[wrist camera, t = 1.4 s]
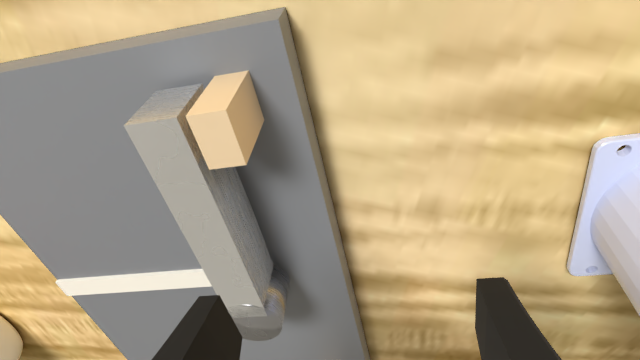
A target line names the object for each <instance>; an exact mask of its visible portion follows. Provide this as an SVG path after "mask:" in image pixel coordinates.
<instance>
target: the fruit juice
mask: <svg viewBox="0 0 640 360" xmlns="http://www.w3.org/2000/svg"><path fill="white" fill-rule="evenodd" d="M22 350H23V342H22V339H21V337H20V335H19V333H18V332H17V330H16V329H15V328H14V327H13V326H12V325H11V324H10V323H9V322H8V321H7V320H5V319H4V318H3V317H2V316H0V360H19V358H20V356H21V353H22Z"/></svg>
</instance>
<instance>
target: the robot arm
mask: <svg viewBox="0 0 640 360" xmlns="http://www.w3.org/2000/svg"><path fill="white" fill-rule="evenodd" d="M624 145H626V146H625V148H623V149H622V150H619V151H617V150H618V148H620V147H621V146H624ZM567 269H568V271H569V273H570V274H571V275H574V276H589V275H606V274H614V276H615V277H616V279H617V281H618V282H619V284H620V285H621V287H622V289H623V290H624V292H625V294H626V295H627V297H628V298H629V300H630V302H631V303H632V305H633V307H634V308H635V310H636V311H637V313H638V315H639V316H640V133H638V134H629V135H621V136H612V137H606V138H603V139H601V140H599V141H597V142H596V143H595V144H594V146H593V148H592V152H591V156H590V161H589V165H588V170H587V174H586V179H585V184H584V188H583V193H582V197H581V202H580V206H579V211H578V216H577V220H576V225H575V229H574V234H573V239H572V243H571V248H570V252H569V257H568V261H567ZM475 329H476V334H477V339H478V344H479V349H480V354H481V359H482V360H561V358H560V357H559V356H558V354H557V353H556V352H555V350H554V349H553V348H552V346H551V345H550V344H549V342H548V341H547V340H546V338H545V337H544V336H543V334H542V333H541V331H540V330H539V329H538V327H537V326H536V324H535V323H534V321H533V320H532V318H531V317H530V316H529V314H528V313H527V311H526V310H525V308H524V307H523V305H522V303H521V302H520V300H519V299H518V297H517V296H516V294H515V292H514V291H513V289H512V287H511V286H510V284H509V282H508V280H506V279H505V278H503V277H502V278H485V279H477V286H476V320H475ZM241 345H242V335H241V334H240V332H239V330H238V328H237V326H236V324H235V323H234V321H233V319H232V317H231V315H230V313H229V312H228V310H227V308H226V306H225V304H224V302H223V301H222V299H221V297H220V295H210V296H199V297H198V299H197V300H196V301H195V302H194V304H193V305H192V306H191V308H190V309H189V310H188V312H187V313H186V314H185V316H184V317H183V318H182V320H181V321H180V322H179V324H178V325H177V327H176V328H175V329H174V331H173V332H172V333H171V335H170V336H169V337H168V339H167V340H166V341H165V343H164V344H163V345H162V347H161V348H160V349H159V351H158V352H157V353H156V354H155V356H154V357H153V358H152V360H240V353H241Z"/></svg>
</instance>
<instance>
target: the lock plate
mask: <svg viewBox="0 0 640 360" xmlns="http://www.w3.org/2000/svg"><path fill="white" fill-rule="evenodd" d="M201 83H202V84H203V86H204V89H205V90H204V91H203V93H202V94H201V95H200V97H199V98H198V99H197V101H196V102H195V104H194V105H193V106H192V108H191V109H190V110H189V112H188V113H187V115H186V119H187V121H188V123H189V125H190V128H191V130H192V132H193V134H194V137H195V139H196V141H197V143H198V146H199V148H200V150H201V152H202V155H203V157H204V159H205V161H206V164H207V166H208V168H209V170H211V169H219V168H227V167H236V170H237V172H238V175H239V177H240V180H241V182H242V185H243V187H244V190H245V192H246V195H247V198H248V200H249V203H250V205H251V208H252V210H253V213H254V215H255V218H256V220H257V223H258V225H259V228H260V230H261V233H262V235H263V238H264V241H265V243H266V246H267V248H268V251H269V253H270V256H271V258H272V261H273V263H274V265H277V266H278V267H280V268H281V269H283V270H284V271H285V272H286V273H287V275H288V277H289V279H290V287H289V292H288V298H287V304H286V309H285V315H284V320H283V326H282V330H281V332H280V334H279V335H278V336H276V337H275V338H273V339H270V340H265V341H251V340H246V339H242V345H241V353H240V360H370V356H369V352H368V348H367V344H366V339H365V335H364V331H363V327H362V323H361V319H360V315H359V310H358V306H357V302H356V298H355V294H354V290H353V286H352V281H351V277H350V273H349V269H348V265H347V261H346V257H345V252H344V248H343V244H342V240H341V236H340V232H339V228H338V223H337V219H336V215H335V211H334V207H333V203H332V199H331V194H330V190H329V186H328V182H327V178H326V174H325V170H324V165H323V161H322V157H321V153H320V149H319V145H318V141H317V136H316V132H315V128H314V124H313V120H312V116H311V112H310V107H309V103H308V99H307V95H306V91H305V87H304V83H303V78H302V74H301V70H300V66H299V62H298V58H297V54H296V49H295V45H294V41H293V37H292V33H291V29H290V25H289V20H288V16H287V12H286V8H285V7H283V8H278V9H273V10H268V11H263V12H257V13H252V14H247V15H242V16H237V17H232V18H227V19H222V20H217V21H212V22H207V23H202V24H197V25H192V26H187V27H182V28H177V29H171V30H166V31H161V32H156V33H151V34H146V35H141V36H136V37H131V38H126V39H121V40H116V41H111V42H106V43H101V44H96V45H91V46H86V47H80V48H75V49H70V50H65V51H60V52H55V53H50V54H45V55H40V56H35V57H30V58H25V59H20V60H15V61H10V62H5V63H0V215H1V216H2V217H3V218H4V219H5V220H6V221H7V223H8V224H9V225H10V226H11V227H12V228H13V229H14V231H15V232H16V233H17V234H18V235H19V236H20V237H21V239H22V240H23V241H24V242H25V243H26V244H27V245H28V247H29V248H30V249H31V250H32V251H33V252H34V253H35V255H36V256H37V257H38V258H39V259H40V260H41V261H42V263H43V264H44V265H45V266H46V267H47V268H48V269H49V271H50V272H51V273H52V274H53V275H54V276H55V277H56V279H57V281H56V282H55V283H56V284H57V285H58V286H59V287H60V288H61V289H62V291H63V292H64V293H65V294H66V295H67V296H72V297H73V298H74V299H75V300H76V301H77V302H78V304H79V305H80V306H81V307H82V308H83V309H84V310H85V312H86V313H87V314H88V315H89V316H90V317H91V318H92V320H93V321H94V322H95V323H96V324H97V325H98V326H99V328H100V329H101V330H102V331H103V332H104V333H105V334H106V336H107V337H108V338H109V339H110V340H111V341H112V342H113V344H114V345H115V346H116V347H117V348H118V349H119V350H120V352H121V353H122V354H123V355H124V356H125V357H126V358H127V359H128V360H152V358H153V357H154V356H155V354H156V353H157V352H158V351H159V349H160V348H161V347H162V345H163V344H164V343H165V341H166V340H167V339H168V337H169V336H170V335H171V333H172V332H173V331H174V329H175V328H176V327H177V325H178V324H179V322H180V321H181V320H182V318H183V317H184V316H185V314H186V313H187V312H188V310H189V309H190V308H191V306H192V305H193V304H194V302H195V301H196V300H197V299H198V297H199V296H210V295H217V294H216V293H215V291H214V289H213V287H212V285H211V284H210V282H209V280H208V278H207V276H206V274H205V273H204V271H203V269H202V267H201V265H200V264H199V262H198V260H197V258H196V256H195V254H194V253H193V251H192V249H191V247H190V245H189V244H188V242H187V240H186V238H185V236H184V234H183V233H182V231H181V229H180V227H179V225H178V224H177V222H176V220H175V218H174V216H173V214H172V213H171V211H170V209H169V207H168V205H167V204H166V202H165V200H164V198H163V196H162V194H161V193H160V191H159V189H158V187H157V185H156V184H155V182H154V180H153V178H152V176H151V175H150V173H149V171H148V169H147V167H146V165H145V164H144V162H143V160H142V158H141V156H140V155H139V153H138V151H137V149H136V147H135V145H134V144H133V142H132V140H131V138H130V136H129V135H128V133H127V131H126V129H125V127H124V125H125V124H126V122H127V121H128V120H129V119H130V118H131V117H132V116H133V115H134V114H135V113H136V112H137V111H138V110H139V109H140V108H141V107H142V105H143V104H144V103H145V102H146V101H147V100H148V99H149V98H150V97H151V96H152V95H153V94H154V93H155V92H156V91H159V90H165V89H171V88H177V87H183V86H189V85H195V84H201Z"/></svg>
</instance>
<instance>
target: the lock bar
mask: <svg viewBox="0 0 640 360" xmlns="http://www.w3.org/2000/svg"><path fill="white" fill-rule="evenodd" d="M204 90H205V89H204V86H203V84H202V83H201V84H195V85H189V86H183V87H177V88H171V89H165V90H159V91H156V92H155V93H154V94H153V95H152V96H151V97H150V98H149V99H148V100H147V101H146V102H145V103H144V104H143V105H142V107H141V108H140V109H139V110H138V111H137V112H136V113H135V114H134V115H133V116H132V117H131V118H130V119H129V120H128V121H127V122H126V124H125V125H124V127H125V129H126V131H127V133H128V135H129V136H130V138H131V140H132V142H133V144H134V145H135V147H136V149H137V151H138V153H139V155H140V156H141V158H142V160H143V162H144V164H145V165H146V167H147V169H148V171H149V173H150V175H151V176H152V178H153V180H154V182H155V184H156V185H157V187H158V189H159V191H160V193H161V194H162V196H163V198H164V200H165V202H166V204H167V205H168V207H169V209H170V211H171V213H172V214H173V216H174V218H175V220H176V222H177V224H178V225H179V227H180V229H181V231H182V233H183V234H184V236H185V238H186V240H187V242H188V244H189V245H190V247H191V249H192V251H193V253H194V254H195V256H196V258H197V260H198V262H199V264H200V265H201V267H202V269H203V271H204V273H205V274H206V276H207V278H208V280H209V282H210V284H211V285H212V287H213V289H214V291H215V293H216V294H217V295H220V297H221V299H222V301H223V302H224V304H225V306H226V308H227V310H228V312H229V313H230V315H231V317H232V319H233V321H234V323H235V324H236V326H237V328H238V330H239V332H240V334H241V335H242V339H246V340H251V341H265V340H270V339H273V338H275V337H276V336H278V335H279V334H280V332H281V330H282V326H283V320H284V315H285V309H286V304H287V298H288V292H289V287H290V279H289V277H288V275H287V273H286V272H285V271H284V270H283V269H281V268H280V267H278V266H277V265H274V263H273V261H272V258H271V256H270V253H269V251H268V248H267V246H266V243H265V241H264V238H263V235H262V233H261V230H260V228H259V225H258V223H257V220H256V218H255V215H254V213H253V210H252V208H251V205H250V203H249V200H248V198H247V195H246V192H245V190H244V187H243V185H242V182H241V180H240V177H239V175H238V172H237V170H236V167H227V168H219V169H211V170H209V168H208V166H207V164H206V161H205V159H204V157H203V155H202V152H201V150H200V148H199V146H198V143H197V141H196V139H195V137H194V134H193V132H192V130H191V128H190V125H189V123H188V121H187V119H186V115H187V113H188V112H189V110H190V109H191V108H192V106H193V105H194V104H195V102H196V101H197V99H198V98H199V97H200V95H201V94H202V93H203V91H204Z"/></svg>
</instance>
